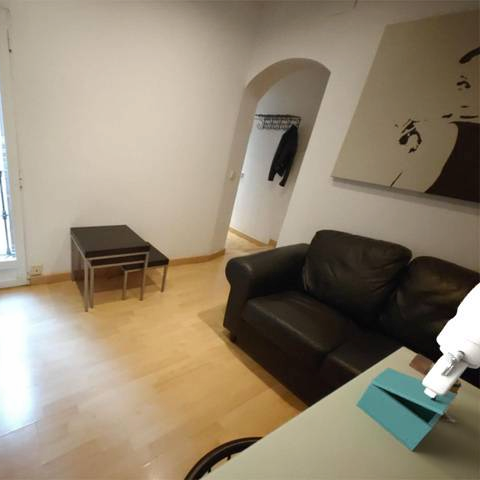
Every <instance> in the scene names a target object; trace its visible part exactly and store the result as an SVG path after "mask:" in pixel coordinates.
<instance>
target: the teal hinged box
mask: <svg viewBox="0 0 480 480" xmlns="http://www.w3.org/2000/svg"><path fill="white" fill-rule="evenodd" d="M356 406H357V407H358V408H359V409H360V410H361V411H363V412H364V413H365V414H366V415H367V416H369V417H370V418H371V419H372V420H373V421H374V422H376V423H377V424H378V425H379V426H381V427H382V428H383V429H384V430H386V431H387V432H388V433H389V434H390V435H392V437H394V438H395V439H396V440H397V441H399V442H400V443H401V444H402V445H404V446H405V447H406V448H407V449H408V450H409V451H411V452H413V450H414V449H415V448H416V447H417V446H418V445H419V444H420V443H421V441H422V440H424V438H425V437H426V436H427V434H428V433H429V432H430V431H431V430H432V429H433V428H434V427H435V425H436V423H437V422H438V421H439V420H440V419H439V418H440V417H441V414H439V413H437V412H434V411H432V410H430V409H428V408H426V407H423V406H421V405H419V404H417V403H414V402H412V401H410V400H408V399H406V398H403V397H401V396H399V395H397V394H394V393H392V392H390V391H388V390H386V389H383V388H381V387H379V386H377V385H374V384H372V382H370V384H369V385H368V387H367V388H366V390H365V391H364V392H363V394H362V395H361V397H360V399H359V400H358V401H357V403H356Z"/></svg>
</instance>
